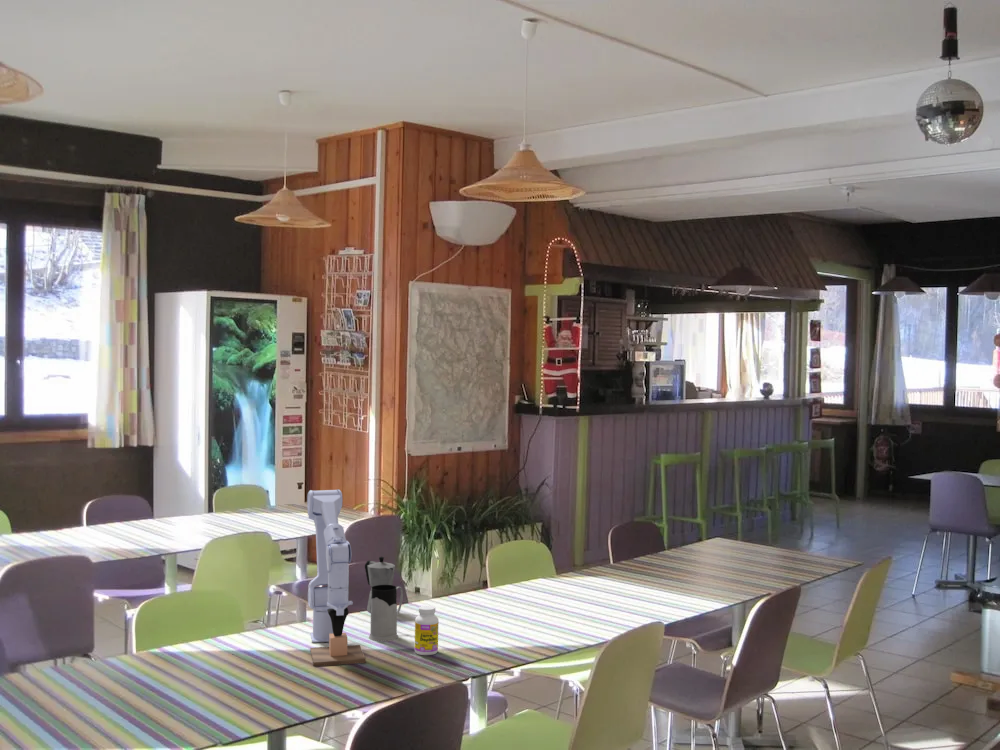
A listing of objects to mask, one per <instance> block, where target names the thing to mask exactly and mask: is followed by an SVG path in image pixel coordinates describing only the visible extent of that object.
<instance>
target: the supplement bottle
mask: <svg viewBox="0 0 1000 750" xmlns="http://www.w3.org/2000/svg"><path fill="white" fill-rule="evenodd" d="M418 613H419V615H417V616H416V617H415V620H414V621H415V623H414V652H415V654H417V655H420V656H432V655H435V654H437V653H438V651H439V618H438V617H437V615H435V613H436V607H435V606H433V605H422V606H419V607H418Z"/></svg>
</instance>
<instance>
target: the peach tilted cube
mask: <svg viewBox="0 0 1000 750" xmlns="http://www.w3.org/2000/svg"><path fill="white" fill-rule="evenodd" d="M347 646H348V635H347V633H346V632H342V635H341V636H334V634H329V642H328V647H329V653H330V656H342V655H347Z"/></svg>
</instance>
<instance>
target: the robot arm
mask: <svg viewBox="0 0 1000 750" xmlns="http://www.w3.org/2000/svg"><path fill="white" fill-rule="evenodd" d="M306 497H307V498H306V502H307V503H306V505H307V506H306V507H307V517H308V519H310V520H312V521H313V523H314V526H315V547H316V548H315V549H316V572H317V575H316V576H315V577H314V578H313V579H311V580H310V581H309V583H308V585H307V586H308V591H307V604H308V607H309V608H310V609H312V632H310V638H311V642H312V643H327V642H328V643H329V634H334V636H341V635H342V633H344V632H343V631H344V626H345V622H346V619H347V616H348V615H349V613H350V612H349V608H348V606H352V605H353V603H354V602H353V600H349V589H350V588H349V581H350V580H349V578H350V577H349V575H350V574H349V573H350V572H349V571H350V568H349V567H350V565H349V564H351V563H352V547H351V544H350V542H349V540H347V538H346V534H345V530H344V526H343V525H341V524H339V515H340V513H341V510H342V508H343V503H344V502H343V499H344V498H343V492H342V491H341V490H340V489H338V488H337V489H326V490H325V489H322V490H312V489H310V490H309V491H308V492H307V496H306Z"/></svg>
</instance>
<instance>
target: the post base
mask: <svg viewBox="0 0 1000 750" xmlns="http://www.w3.org/2000/svg"><path fill="white" fill-rule="evenodd" d="M310 656H311V660H312V665H313V667H321V666H337V665H351V664H365V663H366V657H365V654H364V651H363V650H362V647H361V644H354V645H349V644H348V645H347V655H342V656H330V653H329V646H319V647H310Z"/></svg>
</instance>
